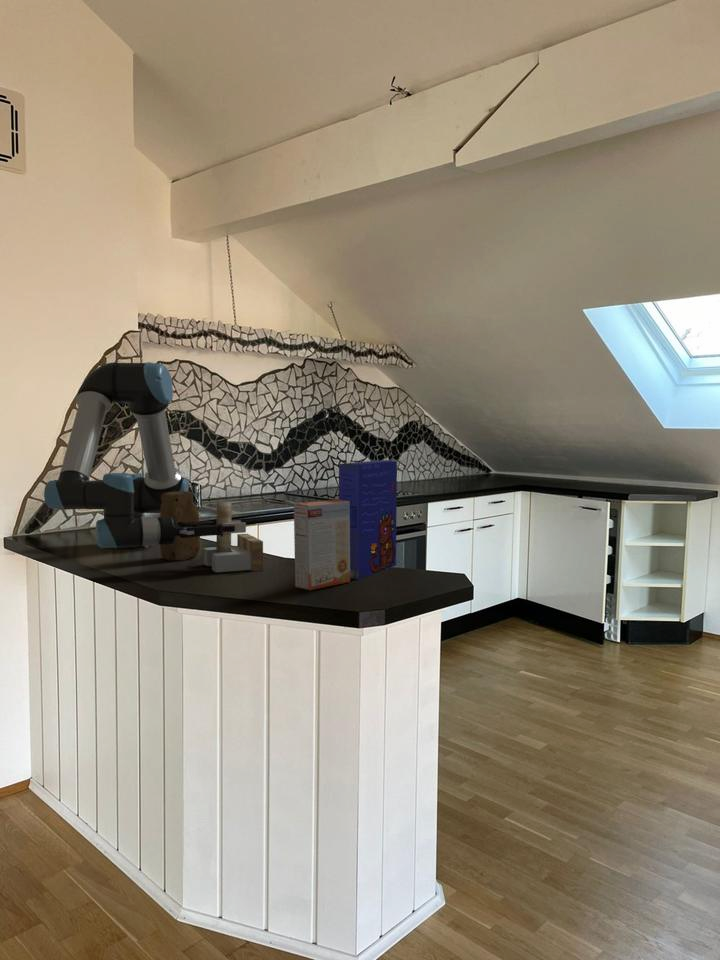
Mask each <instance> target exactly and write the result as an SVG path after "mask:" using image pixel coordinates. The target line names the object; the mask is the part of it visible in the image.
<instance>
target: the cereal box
mask: <svg viewBox="0 0 720 960" xmlns="http://www.w3.org/2000/svg"><path fill="white" fill-rule="evenodd" d="M397 474H398V460H391V459H386V460H385V459H384V460H382V459H381V460H380V459H379V460H370V461H369V460H368V461H367V460H366V461H357V462H347V463H339V464H338V500H343V501H349V502H350V580H357V581H358V580H362V579H364V578H367V577H369V576H371V575H375V574H377V572H378V573H380V572H383V571H385V570H384V569H385V568H381V567H386V568H388V569H390V568H393V567H395V566H397V508H398V507H397V504H398V503H397V502H398V501H397V499H398V497H397V495H398V494H397V493H398V490H397V489H398V487H397V486H398V485H397V483H398V482H397V481H398V477H397V476H398V475H397ZM379 571H380V572H379ZM361 578H362V579H361Z"/></svg>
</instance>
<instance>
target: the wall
mask: <svg viewBox="0 0 720 960" xmlns="http://www.w3.org/2000/svg"><path fill="white" fill-rule="evenodd" d="M236 534H237V537H236V538H237V541H236V542H237V545H236V546H240V547H241V548H243V549H245V550H247V551H249V552H250V553H252V570H251V571H252V572H257V571H264V541H263V540H261V539H260V538H256V537H255V536H254V535H251V534H249V533H236Z"/></svg>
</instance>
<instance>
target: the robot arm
mask: <svg viewBox="0 0 720 960" xmlns="http://www.w3.org/2000/svg"><path fill="white" fill-rule="evenodd" d="M173 386H174V385H173V380H172V377H171V373H170V371H169V369H168V368H167V367H166V366H165V365H164V364H162V363H159V362H158V363H157V362H155V363H154V362H150V361H149V362H147V361H146V362H108V363H105V364H102V365H101V366H99V367H97V368H95V369H94V370H93V371H92V372H91V373H90V374H88V376H87V377H86V378H85V379H84V380H83V382H82V383H81V385H80V387H79V389H78V391H77V395H76V399H75V402H76V405H77V409H76V413H75V417H74V419H73V424H72V427H71V428H72V429H71V431H70V435H69V439H68V443H67V446H66V449H65V450H66V451H65V453H64V457H63V461H62V464H61V468H60V472H59V475H58V478H57V479H54V480H49V481H48V482H47V483H46V484H45V486H44V490H43V498H44V502H45V504H46V506H47V507H48V508H50V509H52V510H64V511H66V510H103V518H102V519H97V521H96V522H95V539H96V545H97V546H98V548H101V549H134V548H140V547H144V548H146V549H149V548H150V547H149V546H156V545H169V544H173V542H174V537H175V536H179V537H181V538H187V537H188V538H190V537H197V536H200V537H210V536H217V535H221V537H223V534H228V533H231V534H246V533H247V529H246V528H247V522H242V520H241V519H240V520H231V523H225V524H220V525H217V518H214V519H213V520H206V521H200V522H178V523H177V524H174V521H173V518H172V517H170V516H169V517H160V516H158V517H156V516H148V517H146V516H145V517H144V514H160V510H161V504H162V501H161V496H162V494H164V493H168V492H178V491H189V487H190V486H189V485H190V484H189V482H190V481H189V478H187V477H185V476H184V477H182V472H181V471H180V469H178V468H176V465H175V459H174V455H173V449H172V444H171V437H170V432H169V427H168V419H167V414H166V410H167V409H168V407H169V403H171V402H172V401H173V395H174V389H173ZM113 404H127V407H128V409H129V412H130V413H131V414H133V415H135V418H136V423H137V428H138V432H139V438H140V442H141V446H142V451H143V452H142V453H143V457H144V461H145V466H146V471H147V473H146V474H145V476H143V474H142V473H141V472H138V473H128V472H108V473H104V474H103V476H102V480H100V479H98V480H90V477H91V473H92V469H93V465H94V463H95V458H96V453H97V450H98V445H99V441H100V439H101V438H100V437H101V434H102V430H103V425H104V422H105V418H106V415H107V413H108V412H109V411H110V410H111V409H112V405H113Z"/></svg>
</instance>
